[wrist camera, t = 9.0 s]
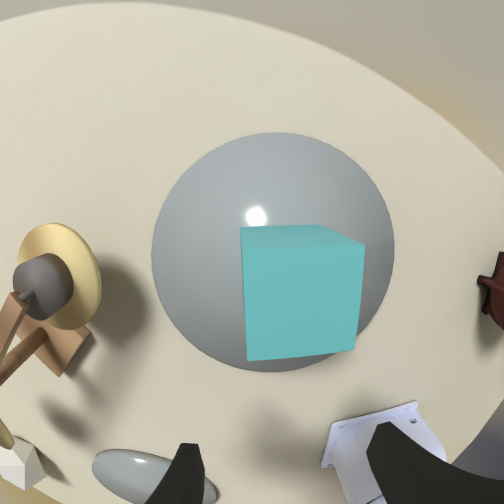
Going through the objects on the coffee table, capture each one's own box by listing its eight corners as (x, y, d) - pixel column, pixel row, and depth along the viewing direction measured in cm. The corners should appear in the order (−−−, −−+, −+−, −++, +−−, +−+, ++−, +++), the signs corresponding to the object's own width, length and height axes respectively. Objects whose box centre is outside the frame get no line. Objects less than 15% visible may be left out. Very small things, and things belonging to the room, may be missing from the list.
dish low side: (386, 144, 16) (395, 141, 15) (372, 349, 19) (378, 357, 18) (150, 143, 15) (144, 140, 14) (172, 364, 18) (169, 374, 17)
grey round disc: (206, 457, 21) (205, 466, 20) (222, 510, 24) (222, 516, 23) (75, 437, 20) (71, 444, 19) (119, 497, 24) (117, 502, 22)
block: (319, 224, 16) (365, 244, 10) (317, 298, 17) (354, 349, 11) (239, 226, 15) (242, 249, 10) (243, 303, 16) (247, 360, 11)
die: (22, 450, 23) (36, 500, 16) (-19, 431, 17) (-10, 487, 10) (45, 436, 25) (61, 490, 18) (1, 414, 19) (11, 476, 13)
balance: (82, 196, 16) (-71, 220, 4) (144, 258, 17) (22, 365, 5) (5, 364, 18) (-55, 427, 6) (45, 403, 19) (-5, 478, 7)
